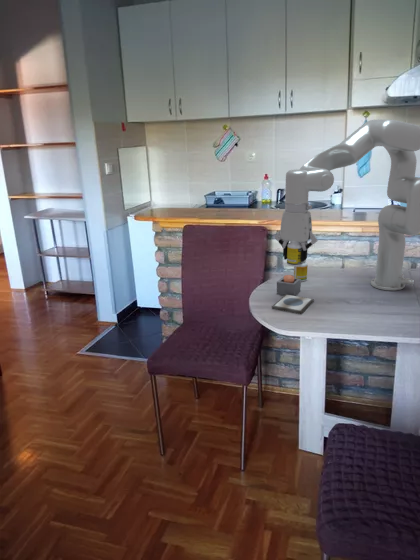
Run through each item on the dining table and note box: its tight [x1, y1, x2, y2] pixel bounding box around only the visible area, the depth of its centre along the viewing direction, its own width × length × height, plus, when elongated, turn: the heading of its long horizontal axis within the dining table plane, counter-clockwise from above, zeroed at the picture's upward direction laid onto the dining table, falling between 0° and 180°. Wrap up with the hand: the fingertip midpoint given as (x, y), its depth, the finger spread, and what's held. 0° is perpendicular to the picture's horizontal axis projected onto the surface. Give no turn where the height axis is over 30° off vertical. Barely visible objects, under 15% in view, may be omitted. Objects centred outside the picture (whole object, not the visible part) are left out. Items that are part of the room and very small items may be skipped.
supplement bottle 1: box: [286, 241, 303, 268], centre depth 156 cm, size 5×5×10 cm
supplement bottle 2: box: [293, 259, 308, 283], centre depth 187 cm, size 5×5×10 cm
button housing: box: [276, 276, 302, 296], centre depth 174 cm, size 7×7×5 cm
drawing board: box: [271, 294, 315, 315], centre depth 163 cm, size 11×13×1 cm
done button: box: [283, 274, 294, 283], centre depth 173 cm, size 4×4×3 cm
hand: (294, 259), depth 157 cm, fingers closed on supplement bottle 1, 5 cm apart
